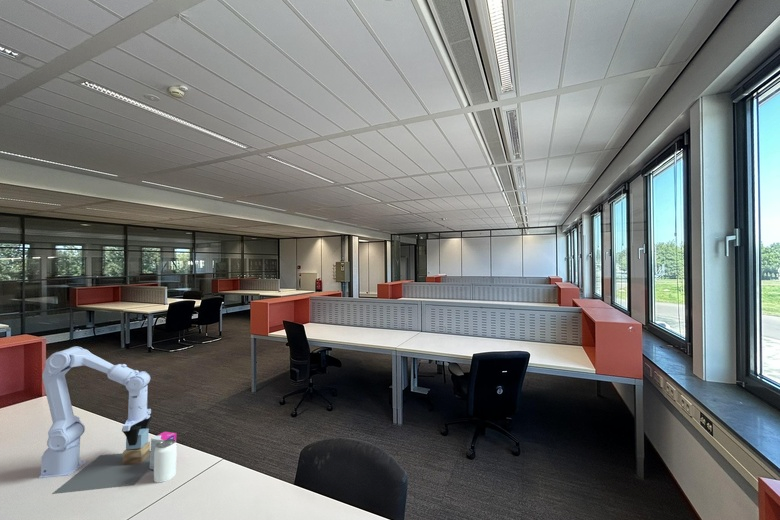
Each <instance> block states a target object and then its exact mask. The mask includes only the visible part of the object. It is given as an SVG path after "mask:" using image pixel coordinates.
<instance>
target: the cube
mask: <svg viewBox="0 0 780 520" xmlns="http://www.w3.org/2000/svg"><path fill="white" fill-rule="evenodd" d="M149 430H150V429H149V427H147V429H140V430H139V433H138V438H137V443H136V445H131V446H129V443H128V440H127V437H126V436H125V438H126V439H125V441H126V442H125V450H126V449H137V448H142V447H143V446H144V445H145V444H146V443H147V442H149Z"/></svg>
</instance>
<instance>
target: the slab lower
mask: <svg viewBox="0 0 780 520" xmlns="http://www.w3.org/2000/svg"><path fill="white" fill-rule="evenodd" d="M150 451H151V448H150V449H148V450H147V451H146V452H145V453H144V454H143V455H142V456H141V457H135V458H125V459H123V465H133V464H141V463H142V462H143V461H144V460H145V459H146V458H147V457H148V456H149V455H150Z"/></svg>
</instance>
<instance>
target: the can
mask: <svg viewBox="0 0 780 520" xmlns="http://www.w3.org/2000/svg"><path fill="white" fill-rule="evenodd" d="M177 445H178V444H177V442H176V443H175V440H174V439H167V440H163V441H161V442H159V443H158V444H157V445H156V448H155V451H154V470H153V482H154V483H164V482H167V481H170V480H172V479H173V478H174V477H175V476H176V474H177V452H178V451H177V448H178V447H177Z"/></svg>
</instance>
